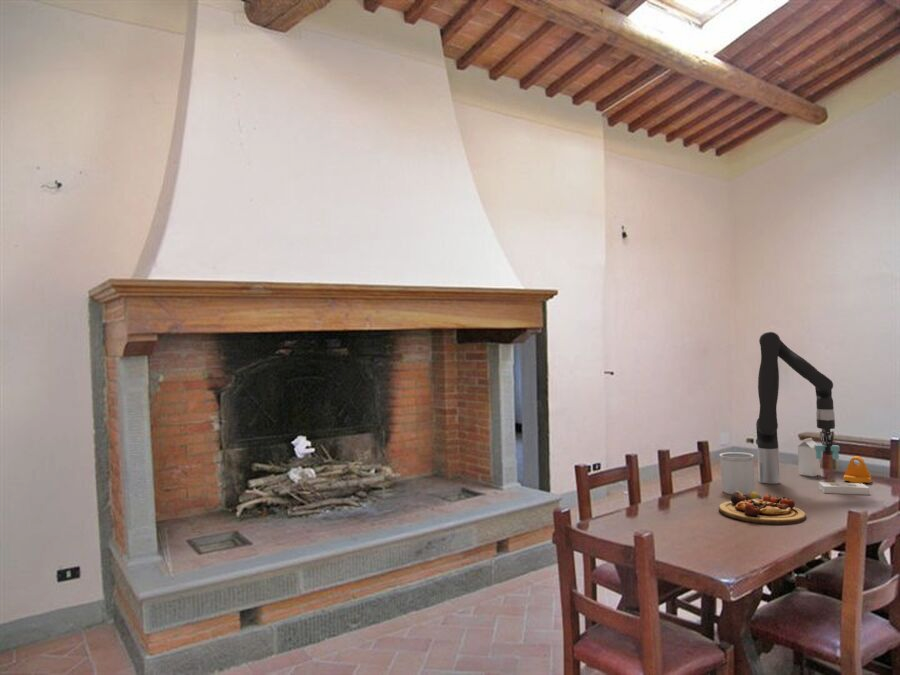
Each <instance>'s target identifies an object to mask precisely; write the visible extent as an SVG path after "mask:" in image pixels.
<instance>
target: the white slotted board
mask: <svg viewBox="0 0 900 675" xmlns="http://www.w3.org/2000/svg"><path fill="white" fill-rule="evenodd" d="M818 488H819V489H818V490H820V491H823V492H822V493H823V494H841V495H842V494H843V495H844V494H845V495H867V496H868V495H869V496H870V495H871V494H870V492H871V491H870V487H869V486H867V485H866V484H865V483H864V484H860V483H850V482H830V481H829V482H826V481H824V482H823V481H819V482H818Z"/></svg>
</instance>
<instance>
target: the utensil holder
mask: <svg viewBox="0 0 900 675" xmlns="http://www.w3.org/2000/svg"><path fill="white" fill-rule="evenodd" d="M719 458H720V461H719V462H720V471H721V484H722V492H724V493H726V494H729V495H732V494H733V493H734V492H736V491H739V492H740V493H741V494H742V495H743V496H746V495H747V494H748V493H749V492H752V491H755V467H754V464H755V463H754V462H755V461H754V459H755V456H754V454H752V453H749V452H737V451H736V452H735V451H734V452H733V451H731V452H721V453H719ZM755 492H756V491H755Z"/></svg>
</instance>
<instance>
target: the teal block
mask: <svg viewBox="0 0 900 675" xmlns="http://www.w3.org/2000/svg"><path fill="white" fill-rule="evenodd" d="M840 448H841V447H840V446H839V445H837V444H836V445H835V444H832V446H831V455H832V459H833V460H839V459H840V456H839V452H840V451H841V450H840ZM814 450H815V451H816V458H817V459H820V460H822V459H823V451H825V445H822V444H817V445H814Z"/></svg>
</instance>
